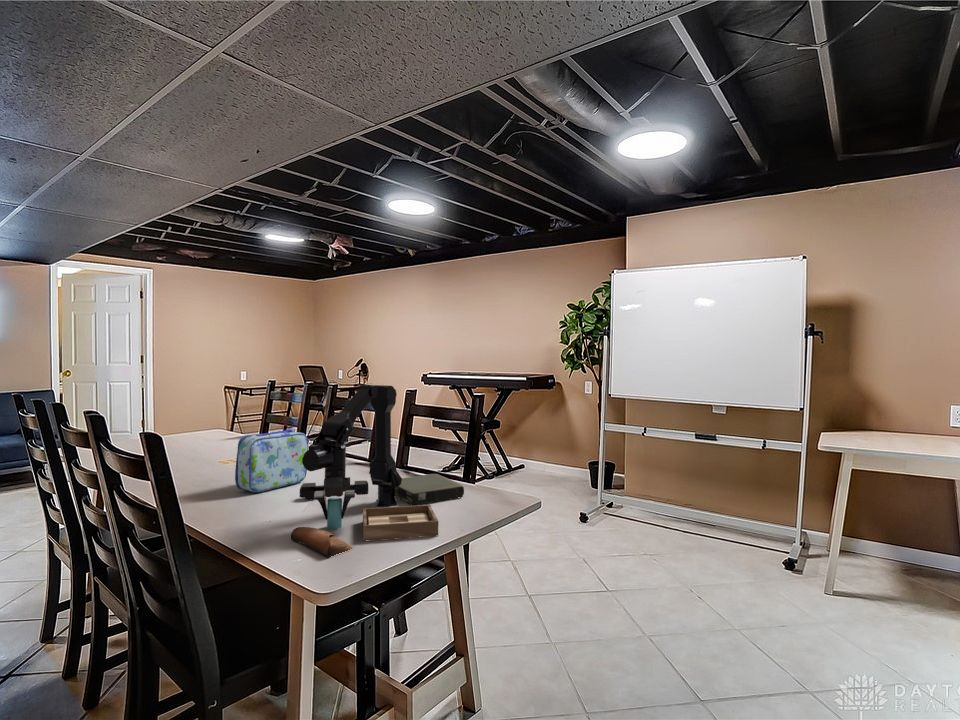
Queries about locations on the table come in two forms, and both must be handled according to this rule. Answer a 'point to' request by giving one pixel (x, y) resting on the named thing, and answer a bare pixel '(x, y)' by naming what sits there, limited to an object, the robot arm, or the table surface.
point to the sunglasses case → (320, 540)
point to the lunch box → (270, 460)
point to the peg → (334, 513)
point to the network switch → (428, 489)
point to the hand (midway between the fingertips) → (334, 518)
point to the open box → (399, 522)
